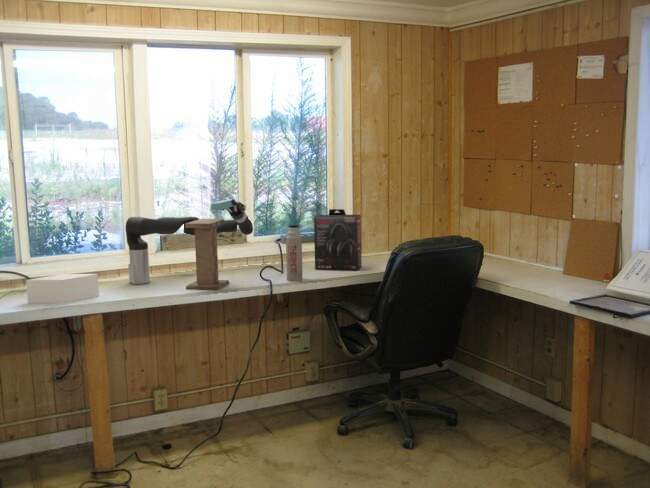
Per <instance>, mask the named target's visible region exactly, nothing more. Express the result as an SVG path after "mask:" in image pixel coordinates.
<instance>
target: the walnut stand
mask: <svg viewBox="0 0 650 488" xmlns="http://www.w3.org/2000/svg"><path fill="white" fill-rule="evenodd" d="M224 220H225V218H199V220H196V221H192V222H189V223H185V228H195V237H194V242H195V243H194V244H195V268H196V269H195V271H196V280H195V281H194V282H191V283H188V284H187V285H186V286H185V289H186V290H200V291H201V290H205V291H219V290H220V289H222V288H224V287H225V286H227V285H228V284H230V280H229V279H228V280H227V279H226V280H225V279H219V263H218V262H219V261H218V260H219V257H218V233H217V228H216V226H217V225H220V224H223V223H225V222H224Z"/></svg>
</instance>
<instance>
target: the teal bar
mask: <svg viewBox="0 0 650 488" xmlns="http://www.w3.org/2000/svg"><path fill="white" fill-rule="evenodd" d="M232 199H234V200H235V201H236V199H235V198H227V199H226V200H224V199H223V200H220V201H216V202H212V203H211V205H210V206H211V211H223V210H222V209H225V208H229V207H232V206H234V205H233V204H232ZM225 210H226V209H225Z"/></svg>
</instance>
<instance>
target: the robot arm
mask: <svg viewBox="0 0 650 488" xmlns="http://www.w3.org/2000/svg"><path fill="white" fill-rule="evenodd" d="M231 199H232V204H233V205H234V206H232V207H229V208H225V209H222V210H221V211H225V210H226V211H227V212H228V213H229V215H230V216H231V218H232V219H227V220H226V219H224V222H225V223H223V224H220V225H217V226H216V228H217V234H223V233H222V232H226V233H235V232H237V230H238V229H239V230H240V232H241V233H242V234H243V235H245V236H248V235H252V233H253V232H254V226H253V222H252V223H251V221H250V220H249V219H248V217H249V216H248V215H247V213H246V208H247V206H246V204H243V203H242V202H240V201H239V202H237V201H236V199H235V198H231ZM234 199H235V200H234ZM223 200H227V199H226V198H224V199H223ZM199 219H200V218H199V217H197V216H185V217H183V216H182V217H172V216H171V217H169V216H168V217H167V216H164V217H158V218H155V219H154V218H148V217H143V216H130V217H128V218H127V220H126V222H125V234H126V235H125V236H126V243H127V246H128V252H129V256H128V257H129V263H128V265H127V266H128V280H129V283H130V284H133V285H143V284H149V283H150V282H151V281H150V280H151V278H150V276H151V275H150V263H149V262H150V261H149V259H150V257H149V244H148V242H147V241H145V240H143V238H142V237H141V236H149V235H154V234H156V235H161V236H162V235H163V236H166V235H174V234H176V233H177V232H178V231H179V230H180V229H181V228H182V227H183V224H184V229H183V234H184V233H186V234H191V235H195V228H185V223H189V222H192V221H196V220H199Z"/></svg>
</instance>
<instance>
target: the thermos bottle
mask: <svg viewBox="0 0 650 488" xmlns="http://www.w3.org/2000/svg"><path fill="white" fill-rule="evenodd" d="M302 241H303V238H302V235H301V231H300V230H299V225H298V224H290V225H288V231H287V232H286V236H285V254H286V256H285V257H286V258H285V259H286V260H285V262H286V281H288V282H301V281H303V244H302V243H303V242H302Z"/></svg>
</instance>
